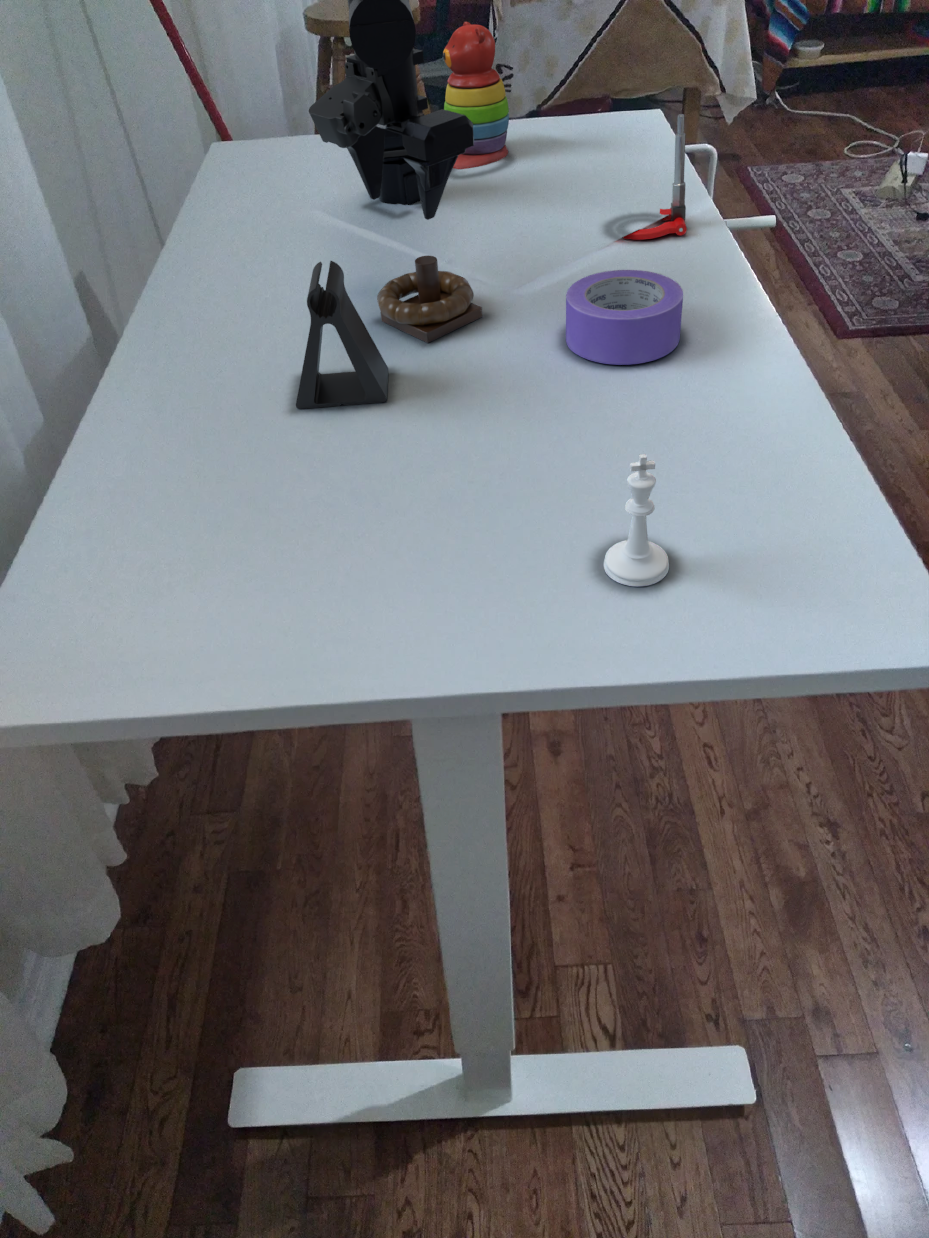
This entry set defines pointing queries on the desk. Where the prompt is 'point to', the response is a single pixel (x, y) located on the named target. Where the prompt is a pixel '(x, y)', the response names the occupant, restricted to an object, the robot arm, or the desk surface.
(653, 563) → the chess piece
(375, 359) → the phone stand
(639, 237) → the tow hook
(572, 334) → the tape roll
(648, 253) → the desk surface
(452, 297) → the ring
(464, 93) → the stacking bear
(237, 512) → the desk surface
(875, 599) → the desk surface
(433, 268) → the post
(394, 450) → the desk surface
